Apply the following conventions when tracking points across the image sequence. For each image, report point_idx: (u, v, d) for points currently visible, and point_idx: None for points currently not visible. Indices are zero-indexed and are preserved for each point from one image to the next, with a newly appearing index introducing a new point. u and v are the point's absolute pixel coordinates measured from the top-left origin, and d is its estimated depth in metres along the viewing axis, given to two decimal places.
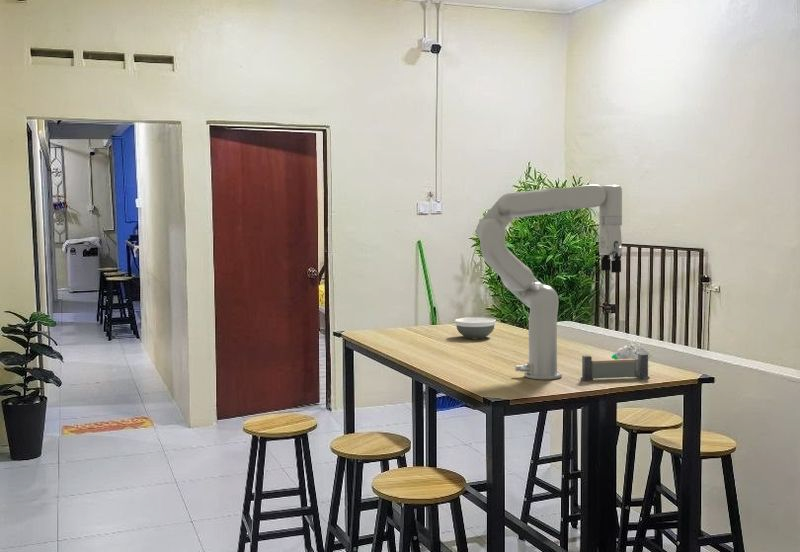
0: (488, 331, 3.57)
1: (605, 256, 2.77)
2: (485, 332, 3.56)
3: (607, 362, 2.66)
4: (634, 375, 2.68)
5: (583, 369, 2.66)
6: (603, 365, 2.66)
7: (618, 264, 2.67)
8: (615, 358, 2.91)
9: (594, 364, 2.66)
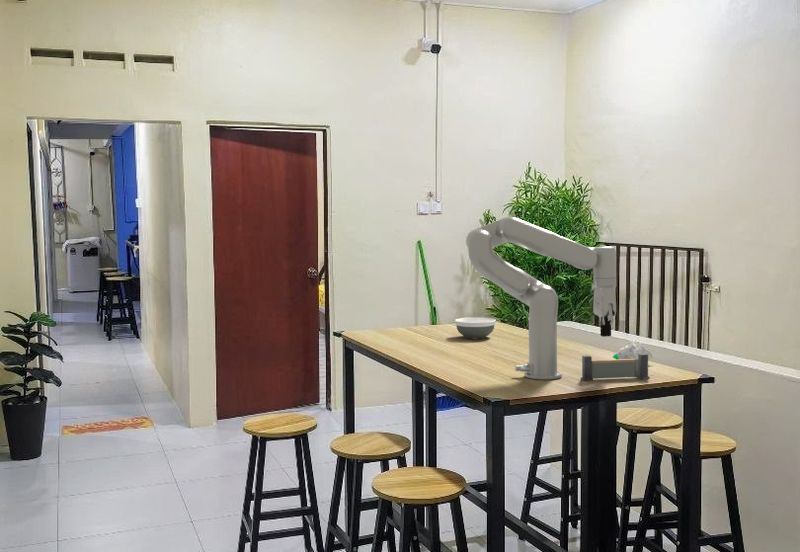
0: (488, 331, 3.57)
1: None
2: (485, 332, 3.56)
3: (607, 362, 2.66)
4: (634, 375, 2.68)
5: (583, 369, 2.66)
6: (603, 365, 2.66)
7: (608, 328, 2.71)
8: (616, 358, 2.91)
9: (594, 364, 2.66)
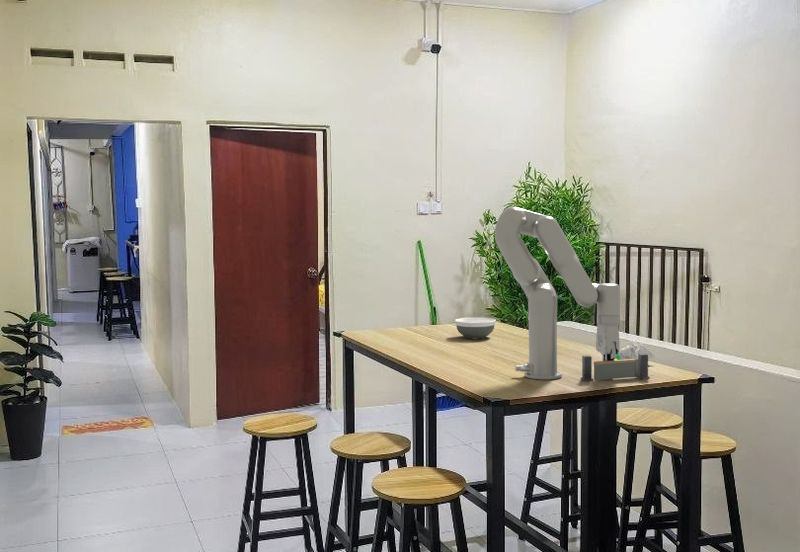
0: (488, 331, 3.57)
1: None
2: (485, 332, 3.56)
3: (609, 363, 2.65)
4: (634, 375, 2.67)
5: (583, 369, 2.66)
6: (605, 366, 2.65)
7: None
8: (618, 358, 2.91)
9: (597, 365, 2.64)
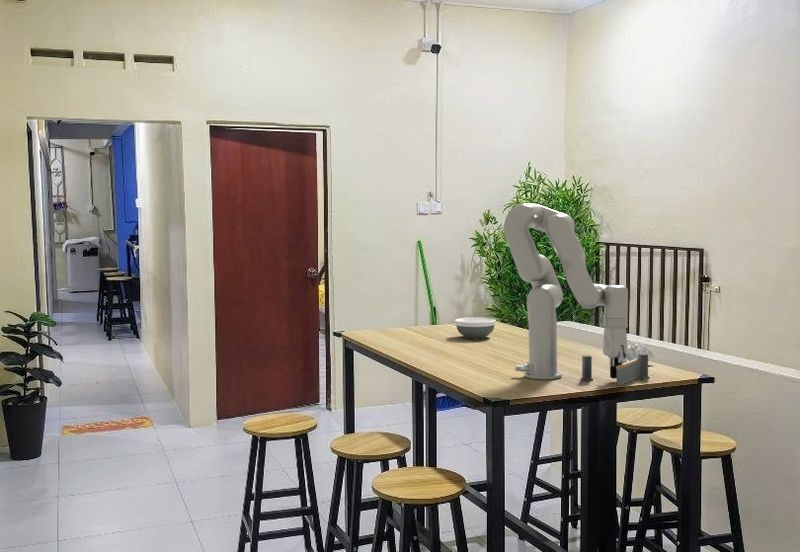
0: (488, 331, 3.57)
1: None
2: (485, 332, 3.56)
3: (625, 366, 2.59)
4: (636, 375, 2.67)
5: (583, 369, 2.66)
6: (623, 369, 2.58)
7: None
8: None
9: (620, 369, 2.56)
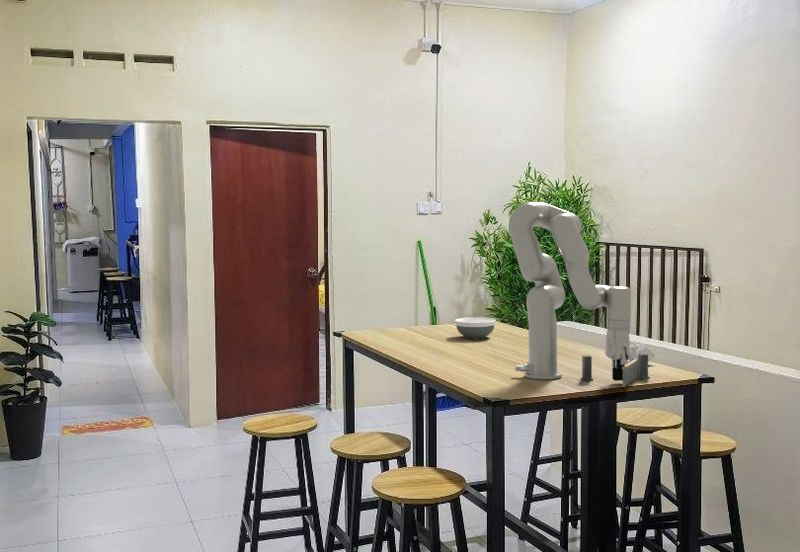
0: (488, 331, 3.57)
1: None
2: (485, 332, 3.56)
3: (630, 366, 2.59)
4: (637, 375, 2.67)
5: (583, 369, 2.66)
6: (628, 370, 2.58)
7: (621, 372, 2.58)
8: None
9: (625, 370, 2.55)
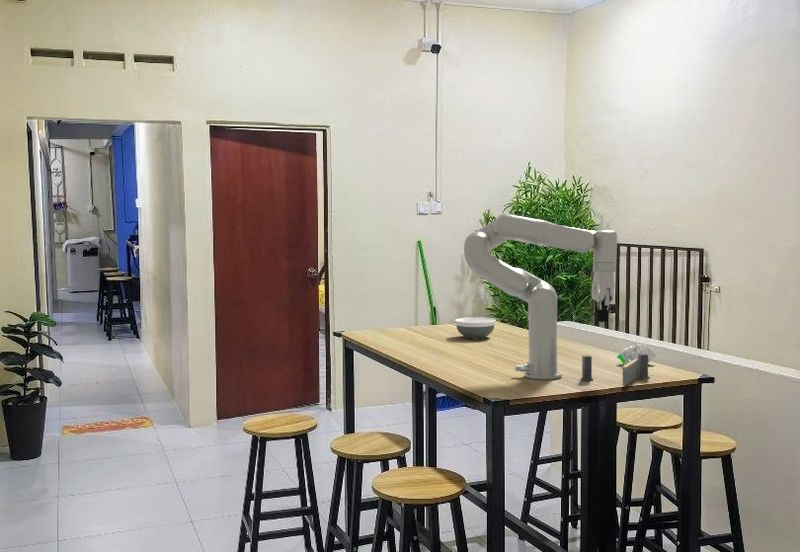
0: (488, 331, 3.57)
1: None
2: (485, 332, 3.56)
3: (630, 366, 2.59)
4: (637, 375, 2.67)
5: (583, 369, 2.66)
6: (628, 370, 2.58)
7: (605, 314, 2.67)
8: (620, 358, 2.91)
9: (625, 370, 2.55)
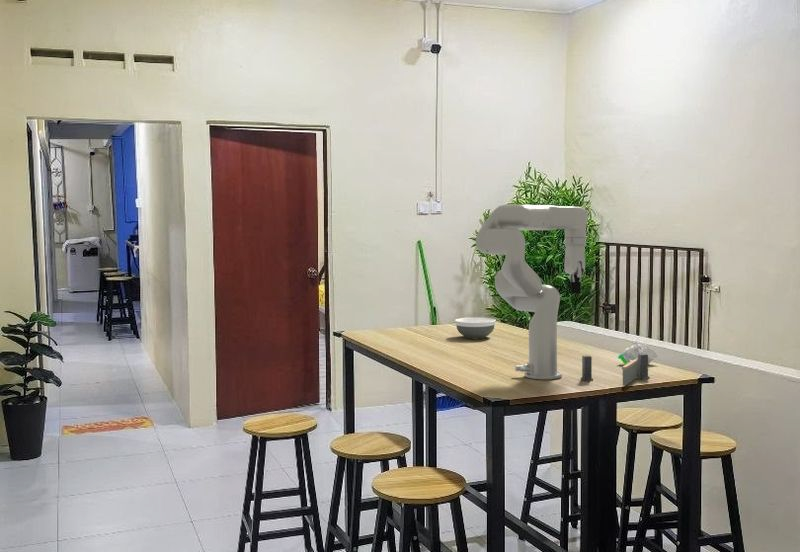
0: (488, 331, 3.57)
1: None
2: (485, 332, 3.56)
3: (630, 366, 2.59)
4: (637, 375, 2.67)
5: (583, 369, 2.66)
6: (628, 370, 2.58)
7: (577, 285, 2.85)
8: (622, 358, 2.91)
9: (625, 370, 2.55)
